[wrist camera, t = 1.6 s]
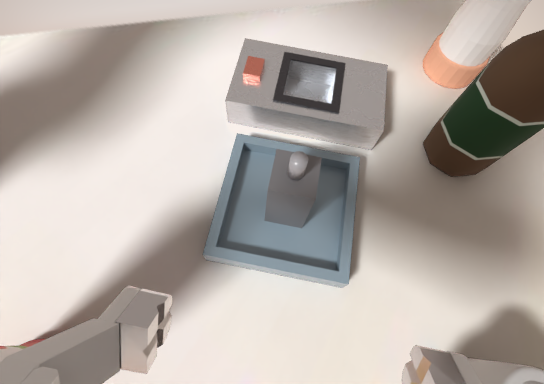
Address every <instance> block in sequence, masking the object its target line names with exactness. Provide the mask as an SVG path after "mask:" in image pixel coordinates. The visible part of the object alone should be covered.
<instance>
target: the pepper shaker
mask: <svg viewBox="0 0 544 384" xmlns="http://www.w3.org/2000/svg"><path fill="white" fill-rule="evenodd" d="M530 1H531V0H466V1H465V2H464V3H463V4H462V6H461V7H460V8H459V9H458V10H457V11H456V13H455V14H454V16H453V18H452V19H451V21H450V23H449V24H448V26H447V28H446V29H445V31H444V32H443V33H441V34H440V35H439V36H438V37H437V38H436V40H435V41H434V43H433V45H432V46H431V48H430V49H429V51H428V52H427V54H426V56H425V58H424V59H423V68H424V71H425V73H426V74H427V75H428V77H429V78H430V79H431V80H433V81H434V82H435V83H437V84H439V85H441V86H443V87H447V88H452V89H453V88H462V87H465V86H467V85H468V84H469V83H471V82H472V81H473V79H474V78H475V77H476V76H477V75H478V74H479V73H480V71H481V70H482V69H483V68H484V67H485V66H486V65H487V63H488V60H489V57H490V55H491V54H492V53H493V52H494V51H495V50H496V49H497V48H498V47H499V45H500V44H501V43H502V42H503V41H504V40H505V38H506V37H507V36H508V34H509V33H510V31H511V29H512V28H513V26H514V25H515V23H516V21H517V20H518V18H519V17H520V15H521V14H522V12H523V11H524V9H525V8H526V6H527V5H528V4H529V3H530Z"/></svg>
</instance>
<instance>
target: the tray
mask: <svg viewBox="0 0 544 384" xmlns="http://www.w3.org/2000/svg"><path fill="white" fill-rule="evenodd" d="M276 149H281V150H286V151H291V152H296V151H301V152H304V153H305V154H306V155H312V156H317V157H322V160H321V167H320V174H319V181H318V187H317V194H316V200H315V202H314V204H313V206H312V208H311V210H310V212H309V214H308V216H307V219H306V221H305V223H304V225H303V227H302V228H298V227H293V226H288V225H283V224H278V223H273V222H268V221H264V220H265V210H266V201H267V192H268V186H269V181H270V177H271V172H272V168H273V163H274V158H275V154H276ZM359 162H360V157H356V156H351V155H346V154H341V153H335V152H330V151H325V150H320V149H315V148H310V147H305V146H299V145H294V144H289V143H284V142H279V141H274V140H269V139H263V138H258V137H253V136H248V135H243V134H238V133H237V136H236V139H235V143H234V146H233V150H232V153H231V157H230V160H229V164H228V167H227V171H226V174H225V178H224V181H223V185H222V188H221V192H220V195H219V199H218V203H217V206H216V210H215V213H214V217H213V220H212V224H211V227H210V231H209V234H208V238H207V241H206V245H205V248H204V252H203V256H204V257H205V259H206V260H209V261H214V262H219V263H224V264H228V265H233V266H238V267H243V268H248V269H253V270H258V271H262V272H267V273H272V274H277V275H282V276H287V277H292V278H297V279H301V280H306V281H311V282H316V283H321V284H326V285H331V286H335V287H340V288H342V287H344V286H346V285H348V284H349V274H350V263H351V252H352V240H353V229H354V218H355V207H356V195H357V184H358V173H359Z"/></svg>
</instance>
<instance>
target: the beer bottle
mask: <svg viewBox="0 0 544 384" xmlns="http://www.w3.org/2000/svg"><path fill="white" fill-rule="evenodd" d="M543 128H544V30H542V31H539V32H536V33H533V34H530V35H527V36H524V37H522V38H520V39H518V40H517V41H515V42H513V43H512V44H510V45H508V46H506V47H505V48H504V49H503V50H502V51H501V52H500V53H499V54H498V55H497V56H496V57H495V58H494V59H493V60H492V61H491V62H490V63H489V64H488V65H487V66H486V67H485V68H484V69H483V71H482V72H481V73H480V74H479V75H478V76H477V77H476V79H475V80H474V81H473V82H472V83H471V84H470V85H469V86H468V88H467V89H466V90H465V91H464V92H463V93H462V94H461V96H460V97H459V98H458V99H457V100H456V101H455V102H454V103H453V105H452V106H451V107H450V108H449V109H448V110H447V111H446V113H445V114H444V115H443V116H442V117H441V118H440V119H439V121H438V122H437V123H436V125H435V126H434V127H433V129H432V130H431V132H430V133H429V135H428V136H427V138H426V139H425V141H424V142H423V145H424V148H425V150H426V153H427V156H428V158H429V161H430V164H432V165H433V166H435V167H436V168H438V169H440V170H441V171H443V172H444V173H446V174H448V175H449V176H451V177H453V176H463V175H474V174H477V173H479V172H480V171H482V170H484V169H485V168H487V167H488V166H490V165H491V164H493V163H494V162H495V161H497V160H498V159H500V158H501V157H503V156H504V155H506V154H507V153H508V152H510V151H511V150H513V149H514V148H516V147H517V146H518V145H520V144H521V143H523V142H524V141H526V140H527V139H528V138H530V137H531V136H533V135H534V134H536V133H537V132H538V131H540V130H541V129H543Z"/></svg>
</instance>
